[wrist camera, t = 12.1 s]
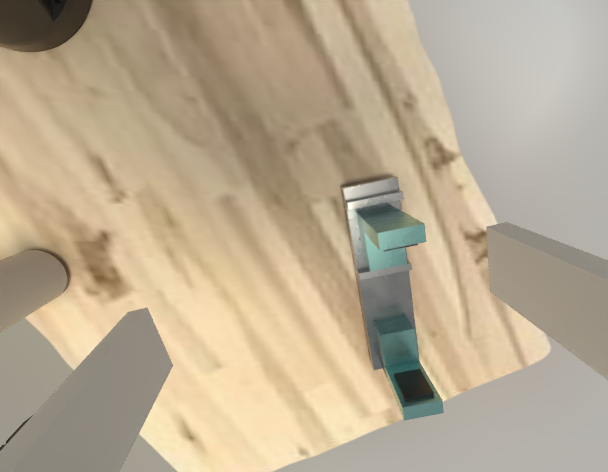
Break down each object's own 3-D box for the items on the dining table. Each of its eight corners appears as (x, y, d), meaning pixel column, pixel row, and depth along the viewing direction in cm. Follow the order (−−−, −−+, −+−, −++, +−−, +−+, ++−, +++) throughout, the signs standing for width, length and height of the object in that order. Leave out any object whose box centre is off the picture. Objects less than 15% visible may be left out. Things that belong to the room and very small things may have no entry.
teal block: (356, 212, 35) (377, 233, 26) (391, 205, 35) (424, 223, 26) (364, 261, 36) (386, 296, 28) (397, 255, 36) (430, 288, 28)
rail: (340, 186, 36) (360, 201, 25) (391, 175, 36) (433, 186, 25) (370, 359, 42) (395, 429, 32) (413, 351, 42) (453, 418, 32)
